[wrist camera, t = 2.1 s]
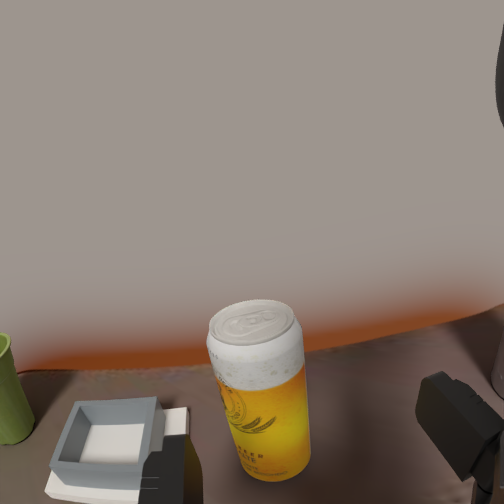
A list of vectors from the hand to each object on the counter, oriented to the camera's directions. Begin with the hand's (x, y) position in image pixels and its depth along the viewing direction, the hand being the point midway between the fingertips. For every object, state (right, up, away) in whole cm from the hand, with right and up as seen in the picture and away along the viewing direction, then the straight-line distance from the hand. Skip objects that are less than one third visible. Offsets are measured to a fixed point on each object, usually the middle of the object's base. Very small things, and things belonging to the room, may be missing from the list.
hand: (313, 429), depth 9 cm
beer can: (0, -13, +15) cm, 20 cm away
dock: (-15, -15, +16) cm, 26 cm away
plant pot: (-32, -17, +18) cm, 40 cm away
